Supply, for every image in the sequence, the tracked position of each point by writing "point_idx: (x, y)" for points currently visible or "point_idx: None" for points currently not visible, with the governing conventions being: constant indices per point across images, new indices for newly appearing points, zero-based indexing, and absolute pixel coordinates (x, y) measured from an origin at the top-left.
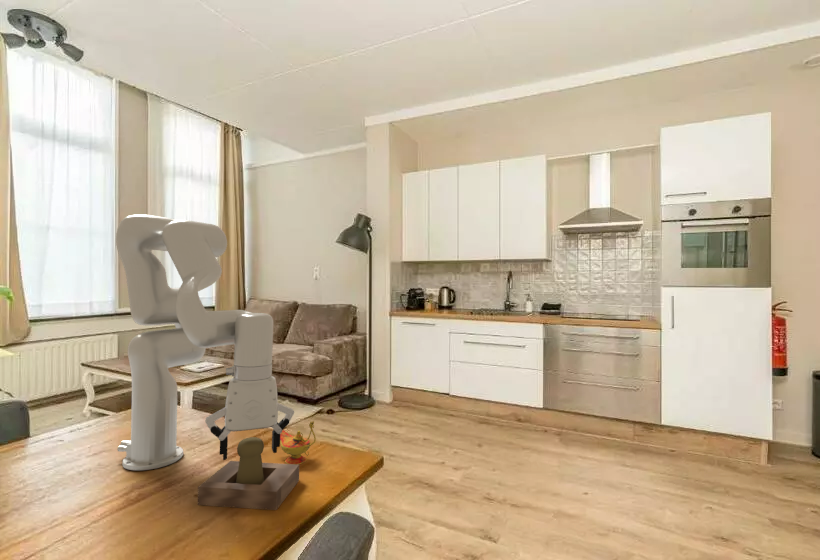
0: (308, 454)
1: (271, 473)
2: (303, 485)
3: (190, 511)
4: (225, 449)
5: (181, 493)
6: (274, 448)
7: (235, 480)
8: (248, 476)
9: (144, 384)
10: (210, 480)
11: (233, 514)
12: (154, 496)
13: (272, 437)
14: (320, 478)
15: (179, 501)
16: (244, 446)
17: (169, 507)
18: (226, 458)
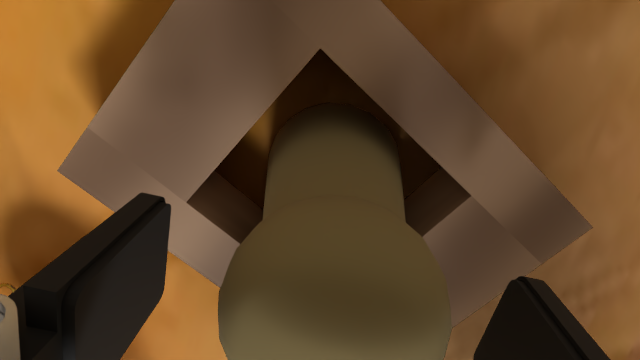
0: (2, 284)
1: (226, 155)
2: (98, 85)
3: (587, 154)
4: (576, 332)
5: None
6: (145, 212)
7: None
8: (364, 151)
9: None
10: (516, 257)
11: (461, 9)
12: (629, 338)
13: (114, 342)
14: (6, 104)
15: (582, 256)
16: (424, 283)
17: (630, 233)
18: (518, 281)
